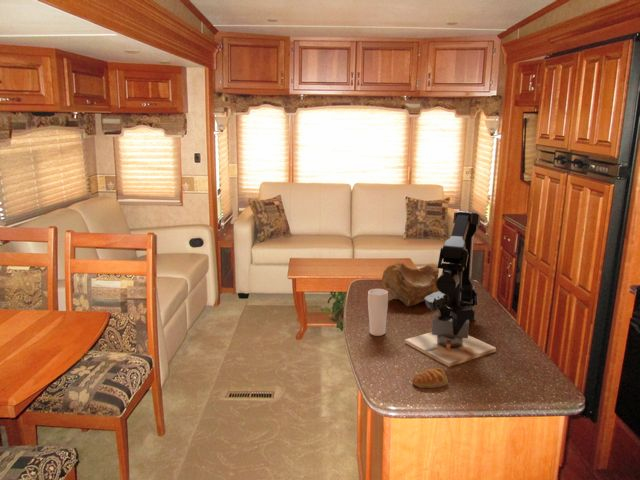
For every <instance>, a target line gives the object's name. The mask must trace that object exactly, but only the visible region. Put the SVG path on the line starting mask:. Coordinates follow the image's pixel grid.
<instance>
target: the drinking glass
mask: <svg viewBox="0 0 640 480" xmlns="http://www.w3.org/2000/svg"><path fill="white" fill-rule="evenodd" d="M388 305H389V290H386V289H383V288H372V289H369V290H368V292H367V307H368V310H367V313H368V321H369V322H368V323H369V325H368V326H369V333H370V335H372V336H374V337H375V336H376V337H380V336H381V337H382V336H383V335H385V334H386V327H387V325H386V324H387V317H388V316H387V315H388Z"/></svg>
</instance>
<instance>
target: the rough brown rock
mask: <svg viewBox="0 0 640 480" xmlns="http://www.w3.org/2000/svg"><path fill="white" fill-rule="evenodd" d="M439 272H440V268H438V264H437V265H436V264H434V263H427V264H426V265H424V266H422V267H420V268H413V267H412V268H411V267H408V266H406V265H405V264H404V263H403V262H399V261H398V262H395V263H393V264H389V266H386V268H385V270H383V273H382V278H381V281H382V282H381V283H382V286H383V287H384V288H385V289H387V290H388V292H389V293H390V297H391V298H393V299H394V300H399V301H400V302H402V304H403V305H405V306H406V307H412V306H416V305H418V304H420V303H422V302H425V299H424V298H425V297H426V296H428V295H430V294H431V293H435V292H438V291H439V290H438V288H437V285H436V282H437V280H438V278H439Z"/></svg>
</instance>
